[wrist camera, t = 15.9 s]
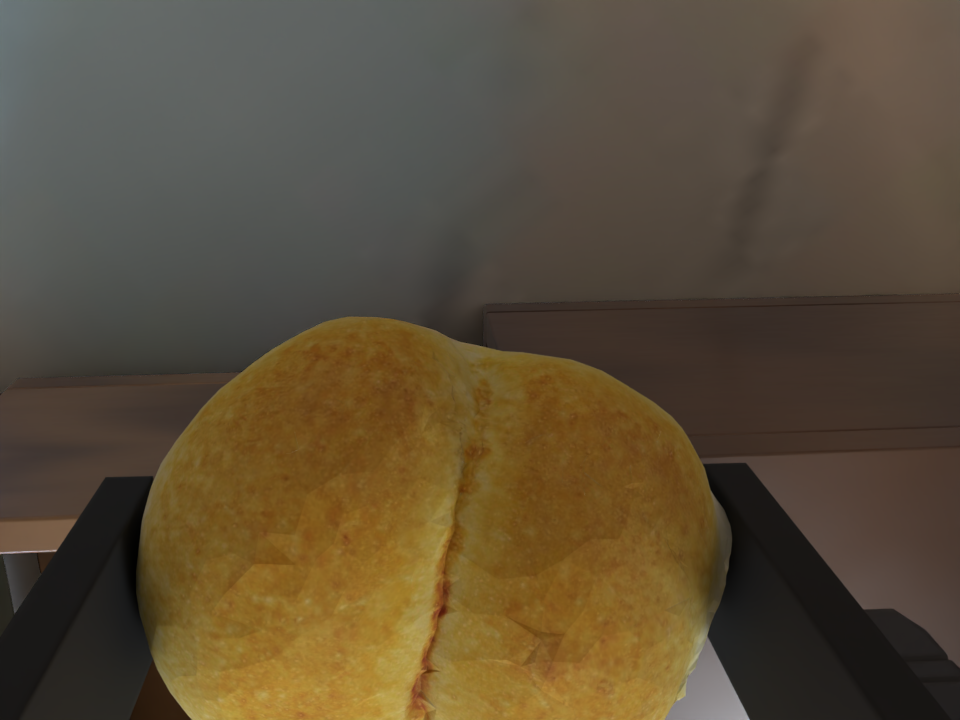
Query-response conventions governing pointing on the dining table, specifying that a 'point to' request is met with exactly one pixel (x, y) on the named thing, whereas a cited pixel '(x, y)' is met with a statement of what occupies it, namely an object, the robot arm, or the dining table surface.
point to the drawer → (87, 465)
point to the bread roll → (428, 538)
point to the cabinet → (799, 428)
